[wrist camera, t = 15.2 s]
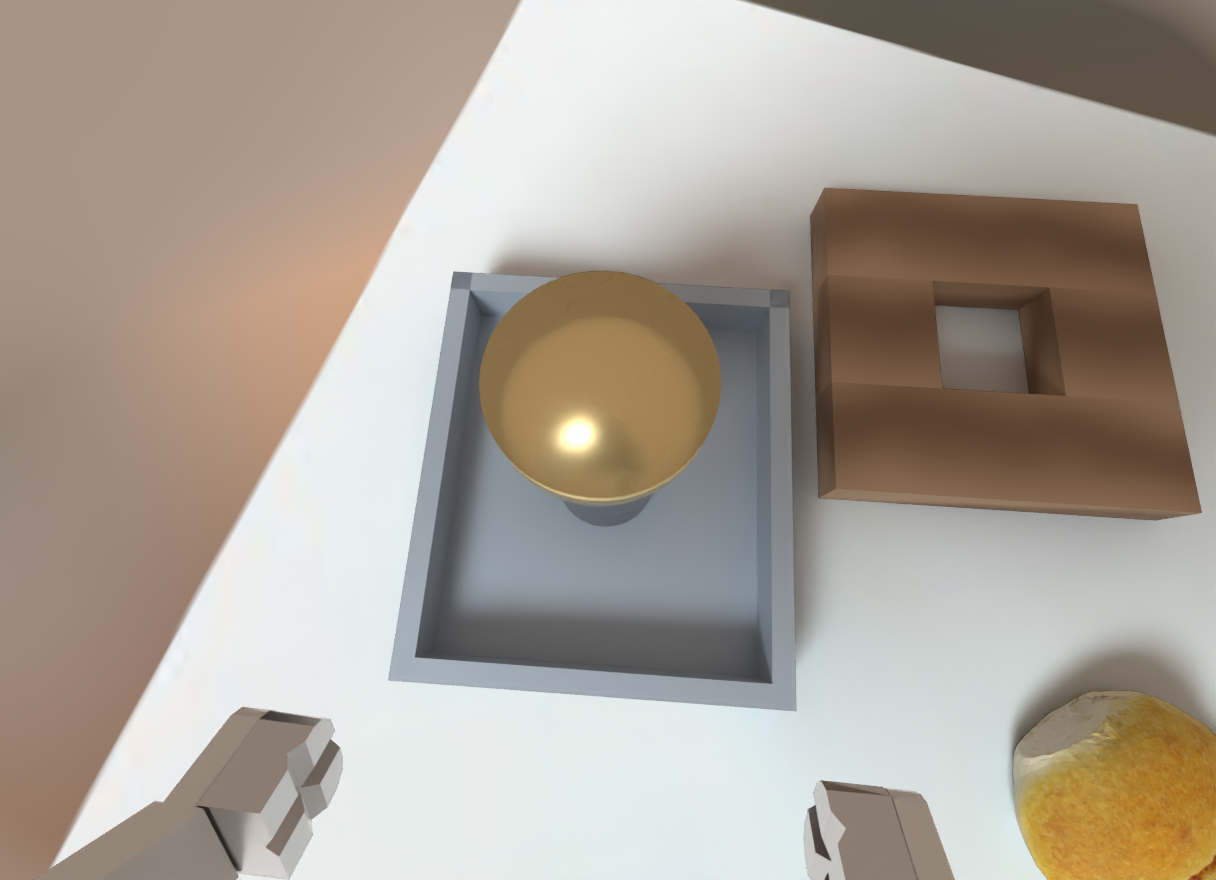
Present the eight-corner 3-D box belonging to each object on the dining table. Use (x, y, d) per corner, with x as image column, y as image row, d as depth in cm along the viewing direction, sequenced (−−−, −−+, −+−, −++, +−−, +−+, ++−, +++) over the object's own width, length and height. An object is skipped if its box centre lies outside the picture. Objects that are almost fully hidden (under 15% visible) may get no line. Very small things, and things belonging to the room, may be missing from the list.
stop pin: (670, 551, 23) (719, 505, 13) (532, 541, 24) (463, 489, 13) (675, 418, 25) (723, 276, 14) (545, 410, 25) (494, 264, 14)
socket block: (1155, 520, 24) (1201, 513, 23) (818, 498, 25) (835, 489, 23) (1101, 231, 28) (1137, 204, 26) (810, 215, 29) (824, 187, 27)
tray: (772, 697, 23) (796, 711, 20) (416, 671, 23) (387, 680, 20) (770, 324, 27) (788, 290, 24) (470, 306, 27) (453, 271, 25)
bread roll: (1134, 1021, 20) (1258, 1120, 16) (960, 772, 22) (1033, 806, 18) (1301, 875, 21) (1454, 934, 17) (1119, 651, 23) (1219, 659, 19)
